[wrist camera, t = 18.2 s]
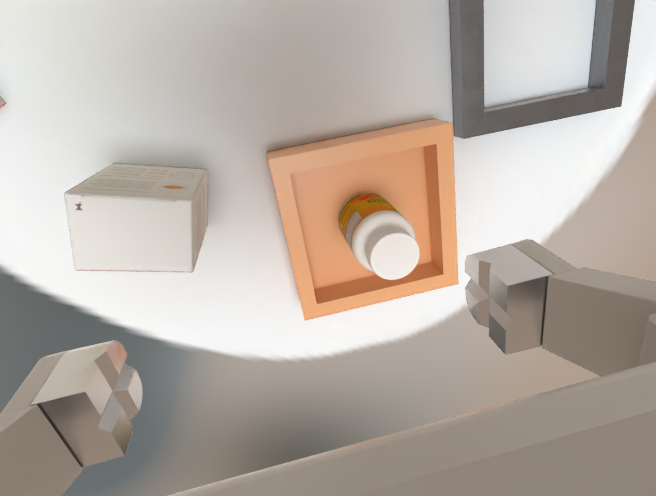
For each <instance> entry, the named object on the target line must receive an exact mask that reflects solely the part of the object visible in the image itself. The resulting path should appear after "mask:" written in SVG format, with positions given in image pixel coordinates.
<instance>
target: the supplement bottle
mask: <svg viewBox="0 0 656 496" xmlns="http://www.w3.org/2000/svg"><path fill="white" fill-rule="evenodd" d="M338 222H339V228H340V230H341V233H342V235H343V236H344V238H345V240H346V242H347V244H348V245H349V247H350V249H351V251H352V252H353V254H354V256H355V258H356V259H357V261H358V262H359V263H360V264H361V265H362V266H363V267H365V268H366V269H368V270H370V271H373V272H375V273H376V274H377V275H378V276H380V277H381V278H384V279H387V280H396V279H400V278H403V277H405V276H406V275H408V274H409V273H410V272H412V270H413V269H414V268H415V267H416V265H417V263H418V260H419V256H420V251H419V246H418V244H417V242H416V241H415V233H414V230H413V227H412V225H411V224H410V222H409V221H408V220H407V219H406V218H405V217H404V216H403V215H402V214H401V213H399V212H398V211H397V210H396V209H395V208H394V207H393V206H392V205H391V204H390V203H389V202H388V201H387V200H386V199H384V198H383V197H382V196H380V195H378V194H376V193H373V192H361V193H358V194H355V195H353V196H352V197H350V198H349V199H348V200H347V201H346V202H345V203H344V205H343V206H342V208H341V210H340V213H339V218H338Z"/></svg>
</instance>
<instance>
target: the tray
mask: <svg viewBox="0 0 656 496" xmlns="http://www.w3.org/2000/svg"><path fill="white" fill-rule="evenodd" d="M267 157H268V162H269V167H270V171H271V175H272V180H273V184H274V188H275V193H276V197H277V202H278V206H279V210H280V215H281V219H282V223H283V228H284V232H285V236H286V241H287V245H288V250H289V254H290V258H291V263H292V267H293V271H294V276H295V280H296V284H297V289H298V293H299V297H300V302H301V306H302V311H303V315H304V319H305V320H309V319H313V318H318V317H322V316H326V315H330V314H334V313H339V312H343V311H347V310H351V309H355V308H360V307H364V306H368V305H372V304H376V303H380V302H385V301H389V300H393V299H397V298H401V297H406V296H410V295H414V294H418V293H422V292H427V291H431V290H435V289H439V288H443V287H447V286H452V285H456V284H458V262H457V235H456V208H455V181H454V154H453V127H452V123H451V122H447V121H442V120H437V119H429V120H424V121H419V122H414V123H409V124H404V125H399V126H394V127H389V128H384V129H379V130H374V131H369V132H364V133H359V134H354V135H349V136H344V137H339V138H334V139H329V140H324V141H319V142H314V143H309V144H304V145H299V146H294V147H289V148H284V149H279V150H274V151H269V152H267ZM361 192H373V193H376V194H378V195H380V196H382V197H383V198H384V199H386V200H387V201H388V202H389V203H390V204H391V205H392V206H393V207H394V208H395V209H396V210H397V211H398V212H399V213H401V214H402V215H403V216H404V217H405V218H406V219H407V220H408V221H409V222H410V224H411V225H412V227H413V230H414V233H415V241H416V242H417V244H418V246H419V251H420V256H419V260H418V263H417V265H416V267H415V268H414V269H413V270H412V272H410V273H409V274H408V275H406V276H405V277H403V278H400V279H396V280H387V279H384V278H381V277H380V276H378V275H377V274H376V273H375V272H373V271H370V270H368V269H366V268H365V267H363V266H362V265H361V264H360V263H359V262H358V261H357V259H356V258H355V256H354V254H353V252H352V251H351V249H350V247H349V245H348V244H347V242H346V240H345V238H344V236H343V235H342V233H341V230H340V228H339V222H338V218H339V213H340V210H341V208H342V206H343V205H344V203H345V202H346V201H347V200H348V199H349V198H350V197H352V196H353V195H355V194H358V193H361Z"/></svg>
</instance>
